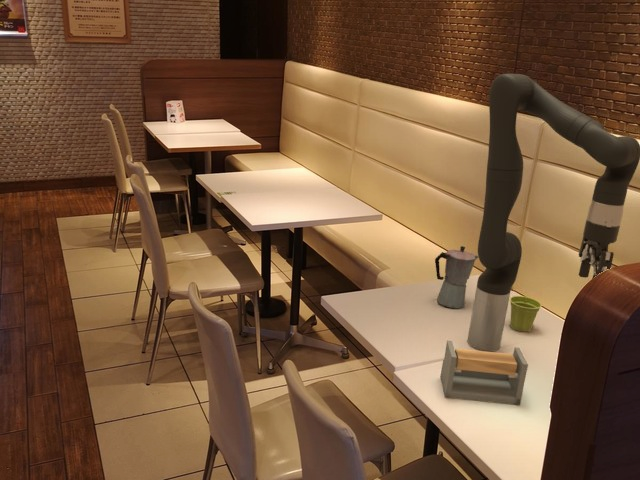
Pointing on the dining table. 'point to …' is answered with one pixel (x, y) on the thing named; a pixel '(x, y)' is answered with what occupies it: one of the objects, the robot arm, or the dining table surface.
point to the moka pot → (455, 277)
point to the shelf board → (485, 361)
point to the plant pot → (523, 312)
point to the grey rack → (482, 381)
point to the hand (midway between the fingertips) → (588, 283)
